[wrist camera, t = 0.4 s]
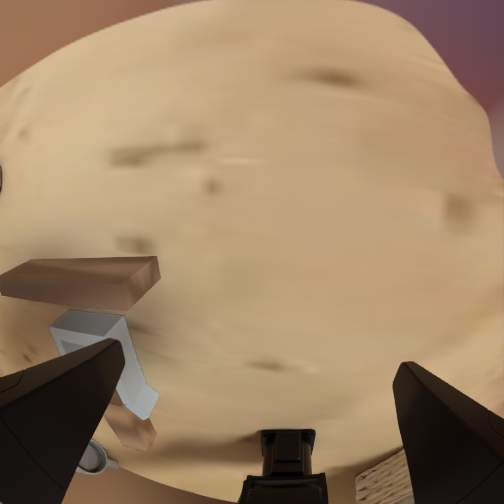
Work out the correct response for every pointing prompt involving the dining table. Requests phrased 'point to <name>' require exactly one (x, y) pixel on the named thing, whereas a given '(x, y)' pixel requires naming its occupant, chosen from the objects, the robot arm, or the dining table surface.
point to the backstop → (83, 281)
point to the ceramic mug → (95, 460)
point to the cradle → (97, 329)
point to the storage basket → (385, 483)
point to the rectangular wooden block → (129, 425)
